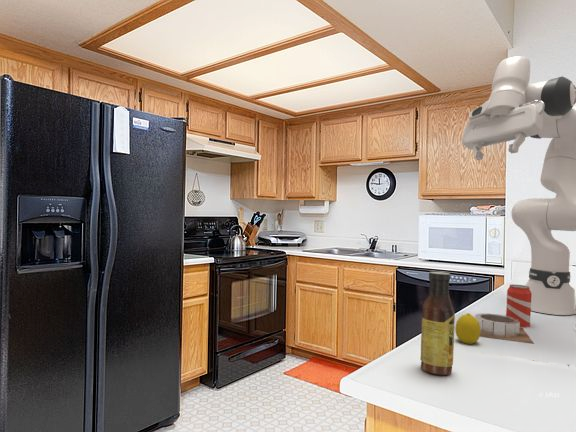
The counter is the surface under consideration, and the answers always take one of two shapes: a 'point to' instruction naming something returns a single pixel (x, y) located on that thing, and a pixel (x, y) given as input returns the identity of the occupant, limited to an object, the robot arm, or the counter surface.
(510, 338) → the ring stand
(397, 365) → the counter surface
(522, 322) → the beverage can
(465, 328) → the lemon
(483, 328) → the white segmented ring
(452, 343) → the sauce bottle
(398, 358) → the counter surface
